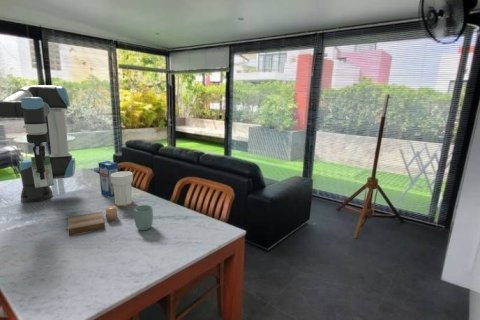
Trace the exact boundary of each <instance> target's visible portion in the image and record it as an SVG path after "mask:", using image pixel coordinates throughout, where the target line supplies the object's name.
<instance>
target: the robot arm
mask: <svg viewBox="0 0 480 320" xmlns="http://www.w3.org/2000/svg"><path fill="white" fill-rule="evenodd" d="M70 106H71V103H70V97H69V94H68V91H67V89H66V88H65V86H59V85H36V84H33V85H26V86H22V87H19V88H17V89H15V90H14V91H12V93H11V94H9V95H8V96H6V97H4V98H2V99H0V119H23V122H24V123H23V124H24V125H23V129H25V133H26V135H25V136H26V141H27V144H34V146H33V147H32V151H33V154H34V156H33V157H35V161H36V167H37V171H36V173H38V176H39V183H40V187H38V188H35V184H34V178H33V172H32V160H31V158H26V159H24V160H22V161H20V162H19V173H20V177H21V183H22V189H21V191H20V192H21V193H20V201H21V202H23V203H34V202H41V201H44V200H48V199H50V198H52V197H53V196H54V195H53V194H54V193H53V190H52V188H51V186H48V184H47V177H46V171H45V167H44V160H46V159H45V158H44V156H46V146H45V145H44V144H45V143H47V142H49V143H50V154H48V156H49V157H50V163H51V168H52V175H53V180H57V179H58V180H59V179H68V178H73V177H74V176H75V172H76V158H75V157H73V156H72V154H71V153H70V152H69V145H68V144H69V143H68V134H67V124H66V123H67V121H66V111H68V107H70ZM46 118H47V121H46ZM47 124H48V125H47ZM47 126H48V127H47ZM42 186H46V187H42Z"/></svg>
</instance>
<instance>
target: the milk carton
mask: <svg viewBox="0 0 480 320" xmlns="http://www.w3.org/2000/svg"><path fill="white" fill-rule="evenodd" d="M97 165H98V172H99V184H100V192H101V193H100V194H101V195H103V194H104V195H103V196H106V197H108V196H109V198H114V197H115V195H114V187H113V184H112V183H111V176H110V175H111V174H112V173H115V172H119V166H118V165H119V163H118V162H113V161H110V160H106V161H101V162H98V164H97ZM113 196H114V197H113Z"/></svg>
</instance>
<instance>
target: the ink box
mask: <svg viewBox="0 0 480 320" xmlns="http://www.w3.org/2000/svg"><path fill="white" fill-rule="evenodd" d="M44 158H45V159H46V160H44V167H45V171H46V177H47V184H48V186H50V187H52V186H54V185H55V184H54V179H53V175H52V168H51V163H50V157H49V155H45V156H44ZM30 159H31V160H32V172H33V178H34V184H35V188H38V187H40V183H39V176H38V173H36V171H37V167H36V161H35V156H31V157H30ZM42 187H46V186H42Z"/></svg>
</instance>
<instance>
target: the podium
mask: <svg viewBox="0 0 480 320" xmlns="http://www.w3.org/2000/svg"><path fill="white" fill-rule="evenodd" d="M105 229H106V228H105V220H104V214H103V211H102V210H101V211H95V212H91V213H83V214H79V215H74V216H73V215H72V216H68V227H67V231H68V236H74V235H79V234H80V235H81V234H84V233H90V232H95V231H99V230H105Z"/></svg>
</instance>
